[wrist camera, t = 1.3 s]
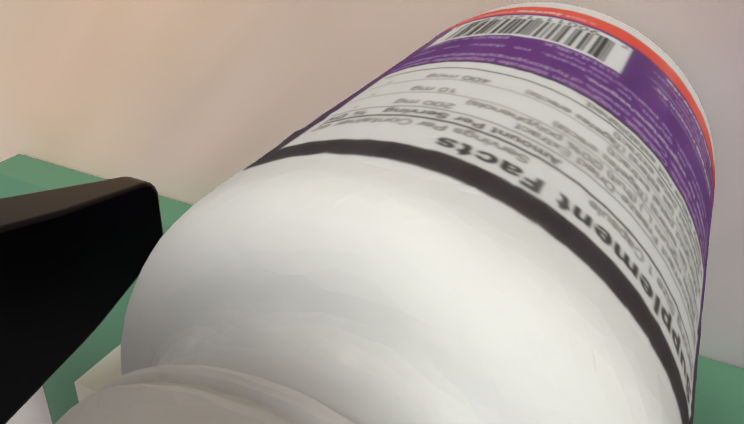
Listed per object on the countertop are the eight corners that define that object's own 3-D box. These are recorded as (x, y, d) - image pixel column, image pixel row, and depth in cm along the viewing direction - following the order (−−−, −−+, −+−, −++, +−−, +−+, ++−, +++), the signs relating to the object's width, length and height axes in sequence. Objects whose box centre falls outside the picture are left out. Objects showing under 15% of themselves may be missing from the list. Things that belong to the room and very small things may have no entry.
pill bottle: (525, 338, 14) (234, 996, 6) (342, 128, 13) (-211, 544, 6) (800, 197, 10) (927, 1250, 3) (566, -86, 10) (-28, 217, 2)
